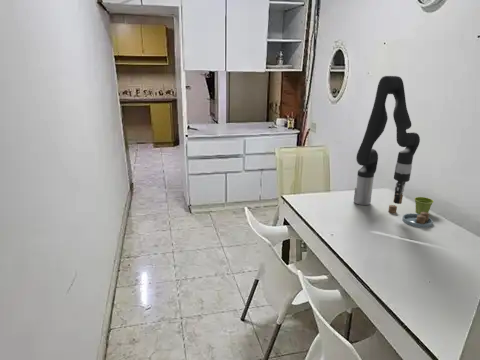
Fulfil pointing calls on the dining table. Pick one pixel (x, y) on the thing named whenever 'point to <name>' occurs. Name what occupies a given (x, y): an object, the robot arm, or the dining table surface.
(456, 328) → the dining table surface
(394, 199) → the brown rounded dome
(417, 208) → the plant pot
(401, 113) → the robot arm
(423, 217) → the seated bead
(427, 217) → the seated bead
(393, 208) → the pile bead
